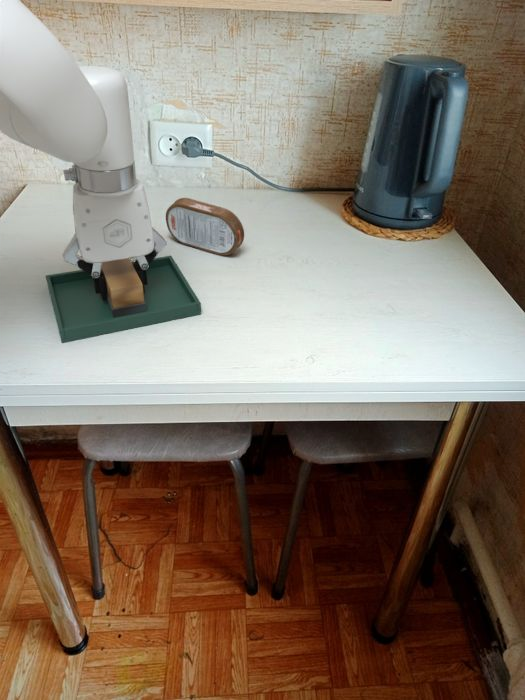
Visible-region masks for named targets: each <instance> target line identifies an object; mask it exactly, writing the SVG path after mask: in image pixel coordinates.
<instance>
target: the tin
mask: <svg viewBox="0 0 525 700" xmlns="http://www.w3.org/2000/svg"><path fill="white" fill-rule="evenodd" d="M165 223H166V227H167V229H168V232H169V234H170V235H171V236H172V237H173V238H174V240H176V241H177V242H178V243H181V244H182V245H185V246H188V247H191V248H195V249H198V250H202V251H204V252H208V253H211V254H215V255H218V256H229V255H231V254H233V253H234V252H235V251H237V249H239V248H240V247H241V246H242V245H243V243H244V240H245V229H244V226H243V224H242V222H241V220H240V219H239V217H238V216H237V215H236V214H235V213H234V212H233V211H231V210H229V209H228V208H225V207H221V206H219V205H215V204H210V203H208V202H204V201H201V200H196V199H193V198H189V197H180V198H178V199H176V200H175V201H174V202H173V203H172V204H171V205H170V206H169V207H168V208H167V210H166V212H165Z"/></svg>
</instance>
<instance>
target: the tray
mask: <svg viewBox="0 0 525 700" xmlns="http://www.w3.org/2000/svg"><path fill="white" fill-rule="evenodd" d="M135 261H136V260H134V261H131V262H132V264H134V262H135ZM146 272H147V282H148V284H147V285H144V288H145V293H144V300H145V302H146V307H147V311H145V312H140V313H135V314H130V315H125V316H120V317H115V318H113V316H112V313H111V311H110V308H109V306H108V303H107V301H106V300H104V301H103V300H102V297H101V295H100V293H98V294H96V292H95V289H94V283H93V278H92V276H91V275H90V274H88V273H87V272H85V271H83V270H82V269H78V270H72V271H65V272H60V273H59V272H58V273H52V274H47V275H45V281H46V284H47V289H48V292H49V297H50V301H51V304H52V308H53V312H54V317H55V321H56V325H57V329H58V333H59V337H60V340H61V343H62V344H64V343H69V342H73V341H78V340H83V339H87V338H94V337H98V336H103V335H107V334H112V333H117V332H122V331H127V330H132V329H137V328H141V327H146V326H147V327H148V326H151V325H156V324H161V323H165V322H170V321H176V320H180V319H184V318H185V319H186V318H190V317H195V316H199V315H202V303H201V301H200V299H199V297H198V296H197V295H196V292H195V291H194V290H193V288H192V286H191V285H190V284H189V282H188V280H187V279H186V277H185V275H184V274H183V272H182V271H181V269H180V267H179V266H178V264H177V262H176V261H175V259H174V258H173V256H172V255H167V256H160V257H159V256H158V257H155V258H154V259H153V260H152V262H151V263H150V264H149V267H148V269H147V270H146Z"/></svg>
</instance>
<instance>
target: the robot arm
mask: <svg viewBox="0 0 525 700" xmlns="http://www.w3.org/2000/svg"><path fill="white" fill-rule="evenodd" d="M130 110H131V109H130V101H129V90H128V83H127V80H126V78H125V77H124V75H123V74H122V72H120V71H119V70H117V69H114V68H111V67H108V66H100V65H81V66H80V65H79V66H78V64H77V62H76V61H75V59H74V58H73V57H72V55H71V54H70V53H69V51H68V50H67V49H66V48H65V46H64V45H63V44H62V43H61V42H60V40H59V38H57V37H56V35H54V33H53V32H52V31H51V30H50V29H49V28H48V27H47V25H45V24H44V23H43V22H42V21H41V20H40V19H39V17H37V16H36V15H35V14H34V13H33V12H32V11H31V10H30V9H29V8H28V7H27V6H26V5H25V4H24V3H23V2H22V1H21V0H0V132H1V133H2V134H3V135H5V136H6V137H8V138H9V139H12V140H13V141H16V142H18V143H20V144H22V145H25V146H27V147H30V148H31V149H32V148H33V149H35V150H37V151H38V150H39V151H40V152H43V153H45V154H46V155H49V156H52V157H53V158H56V159H59V160H60V161H62V162H66V163H72V165H71V167H69V168H68V169H62V172H63V177H64V181H71V182H75V183H74V184H73V187H72V212H73V213H72V214H73V223H74V231H75V233H74V235H73V236H72V238H71V239H70V241H69V242H68V244H67V246H66V247H65V249H64V250H63V252H62V258H63V260H64V262H66V263H68V264H70V265H72V266H76V267H78V268H79V270H83V271H85V272H87V273H88V274H90V275H91V276H92V278H93V283H94V289H95V292H96V294H98V293H100V295H101V297H102V300H103V301H104V300H106V299H107V292H106V285H105V279H104V276H103V274H102V271H101V267H102V262H109V261H115V260H122V259H128V258H130V259H134V258H135V259H136V260H134V261H135V262H134V261H133V262H134V264H133V266H134V268H135V270H136V272H137V274H138V276H139V278H140V280H141V282H142V284H143V293H145V288H144V285H147V284H148V282H147V272H146V270H147V269H148V267H149V264H150V263H151V262H152V260H153V259H154V258H157V255H158V254H159V253H161V251H163V250H164V248H166V246H167V245H168V242H167V241H166V239H165V238H164V237H163V236H162V235H161V234H160V233H159V232H158V231H157V230H156V229H155V228H154V227H153V225H152V218H151V212H150V207H149V201H148V198H147V192H146V190H145V187H144V184H143V183H142V182H141V181H140V180H139V179H138V178H137V174H136V173H137V171H136V163H135V153H134V141H133V131H132V120H131V111H130ZM78 252H79V253H80V255H79V254H78Z"/></svg>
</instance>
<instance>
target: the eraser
mask: <svg viewBox="0 0 525 700" xmlns="http://www.w3.org/2000/svg"><path fill="white" fill-rule="evenodd" d="M132 262H133V261H131V258H128V259H122V260H115V261H109V262H102V267H101V271H102V274H103V276H104V279H105V285H106V292H107V299H106V301H107V303H108V306H109V308H110V311H111V313H112V316H113V318H115V317H120V316H125V315H130V314H135V313H140V312H145V311H147V307H146V302H145V300H144V293H143V284H142V282H141V280H140V278H139V276H138V274H137V272H136V270H135V268H134V266H133V264H132Z"/></svg>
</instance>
